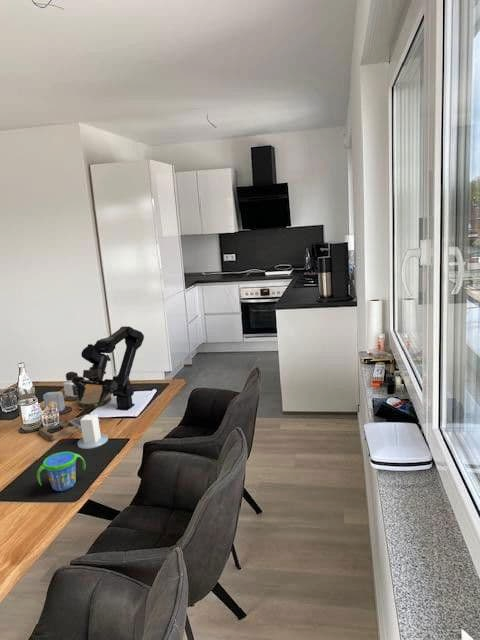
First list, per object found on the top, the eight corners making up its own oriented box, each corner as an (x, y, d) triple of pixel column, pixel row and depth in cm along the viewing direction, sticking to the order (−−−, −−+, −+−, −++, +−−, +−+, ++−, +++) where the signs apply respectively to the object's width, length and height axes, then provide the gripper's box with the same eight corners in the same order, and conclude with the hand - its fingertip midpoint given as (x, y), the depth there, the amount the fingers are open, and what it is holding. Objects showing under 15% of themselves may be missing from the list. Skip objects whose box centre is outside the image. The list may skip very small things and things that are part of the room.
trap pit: (89, 416, 223) (89, 413, 223) (100, 422, 216) (99, 418, 215) (68, 424, 216) (68, 421, 216) (79, 430, 209) (78, 427, 209)
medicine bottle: (74, 397, 249) (70, 375, 246) (65, 395, 253) (61, 373, 250) (85, 392, 255) (81, 371, 252) (76, 391, 259) (72, 369, 256)
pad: (114, 436, 200) (113, 434, 200) (96, 450, 190) (96, 448, 189) (89, 433, 205) (89, 432, 204) (71, 447, 194) (71, 446, 193)
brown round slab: (116, 395, 247) (115, 390, 247) (104, 408, 232) (103, 402, 231) (86, 397, 249) (85, 391, 249) (72, 409, 234) (71, 403, 233)
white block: (89, 437, 200) (85, 414, 198) (101, 437, 199) (97, 414, 197) (84, 443, 195) (80, 420, 193) (95, 443, 194) (91, 420, 192)
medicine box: (65, 408, 236) (62, 391, 234) (61, 411, 232) (58, 394, 230) (50, 408, 237) (47, 392, 235) (45, 412, 233) (42, 395, 231)
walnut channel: (67, 424, 216) (66, 419, 216) (78, 431, 208) (77, 425, 208) (39, 434, 208) (38, 429, 208) (50, 441, 200) (49, 436, 200)
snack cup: (84, 471, 174) (79, 445, 171) (91, 485, 165) (86, 457, 162) (37, 486, 166) (32, 459, 164) (42, 501, 157) (36, 472, 155)
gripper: (70, 359, 205) (60, 394, 199) (112, 362, 202) (102, 399, 195) (82, 367, 215) (72, 402, 209) (121, 371, 212) (113, 406, 205)
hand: (89, 402), depth 204 cm, fingers open, 9 cm apart
